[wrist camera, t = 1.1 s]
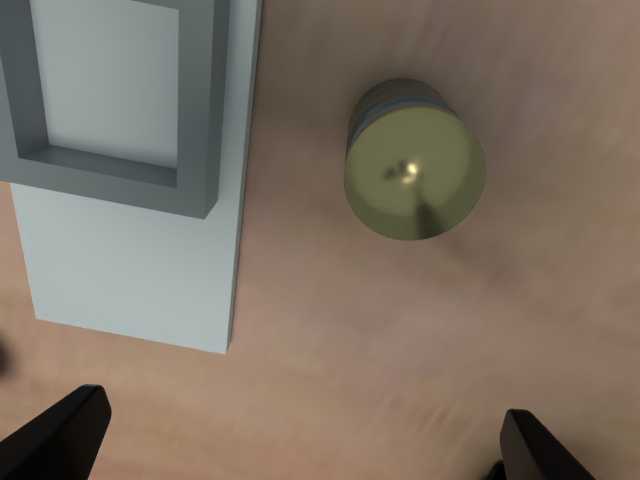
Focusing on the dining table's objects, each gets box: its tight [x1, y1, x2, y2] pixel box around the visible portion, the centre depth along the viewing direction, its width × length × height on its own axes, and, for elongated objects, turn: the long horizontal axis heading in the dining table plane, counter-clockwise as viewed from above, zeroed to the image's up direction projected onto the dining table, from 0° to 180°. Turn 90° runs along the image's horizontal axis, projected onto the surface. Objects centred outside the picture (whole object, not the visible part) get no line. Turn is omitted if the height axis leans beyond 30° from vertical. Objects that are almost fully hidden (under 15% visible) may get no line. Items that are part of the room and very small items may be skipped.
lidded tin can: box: [344, 78, 485, 240], centre depth 16 cm, size 4×4×6 cm
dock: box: [0, 0, 262, 354], centre depth 19 cm, size 11×20×3 cm, turn 170°
